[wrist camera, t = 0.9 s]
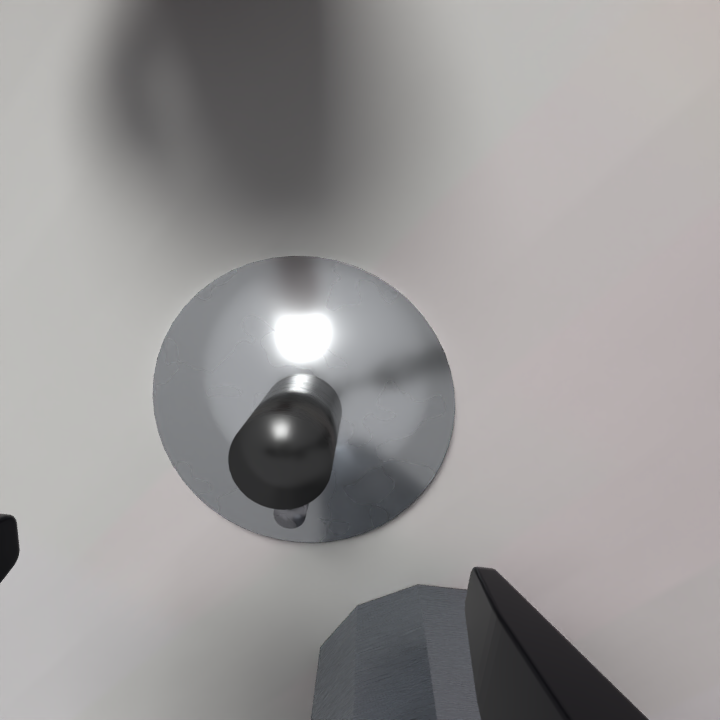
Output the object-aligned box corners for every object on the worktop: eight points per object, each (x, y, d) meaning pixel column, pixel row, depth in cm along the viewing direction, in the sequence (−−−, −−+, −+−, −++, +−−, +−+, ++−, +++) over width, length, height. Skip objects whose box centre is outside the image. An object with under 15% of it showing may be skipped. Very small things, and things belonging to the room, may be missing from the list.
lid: (473, 273, 16) (520, 282, 11) (428, 543, 18) (448, 647, 14) (161, 239, 16) (67, 232, 11) (163, 515, 18) (89, 607, 14)
